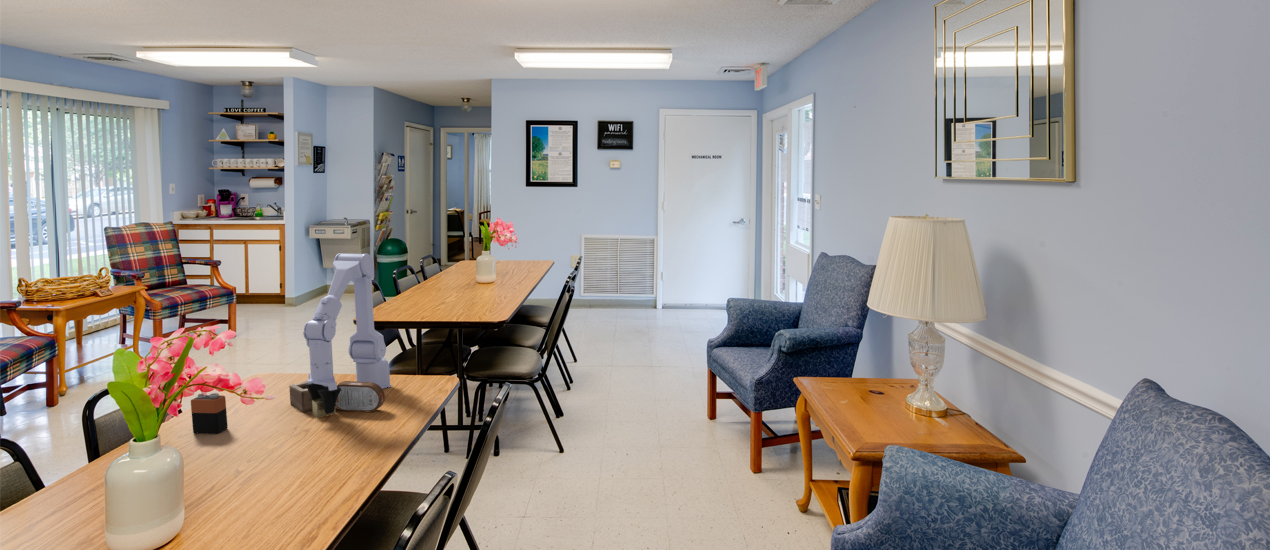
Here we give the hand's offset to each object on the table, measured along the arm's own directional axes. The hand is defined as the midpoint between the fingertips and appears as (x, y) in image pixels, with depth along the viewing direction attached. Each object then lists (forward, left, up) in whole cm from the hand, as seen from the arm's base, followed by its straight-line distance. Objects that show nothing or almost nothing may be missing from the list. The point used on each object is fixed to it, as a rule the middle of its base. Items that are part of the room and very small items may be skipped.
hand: (324, 409), depth 192 cm
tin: (-8, +3, -2) cm, 9 cm away
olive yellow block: (0, 0, -2) cm, 2 cm away
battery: (+26, -8, -2) cm, 27 cm away
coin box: (-2, -11, -1) cm, 11 cm away
